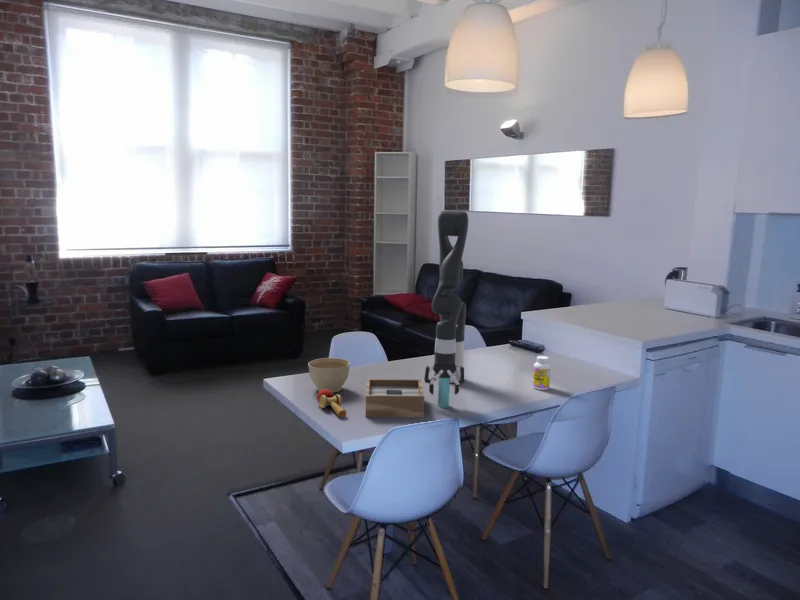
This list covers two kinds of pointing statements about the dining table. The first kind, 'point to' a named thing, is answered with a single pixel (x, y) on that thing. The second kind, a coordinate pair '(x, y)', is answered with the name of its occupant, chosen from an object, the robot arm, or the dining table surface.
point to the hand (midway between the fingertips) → (443, 394)
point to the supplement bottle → (541, 373)
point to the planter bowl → (329, 373)
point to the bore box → (394, 398)
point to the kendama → (331, 401)
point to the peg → (443, 392)
